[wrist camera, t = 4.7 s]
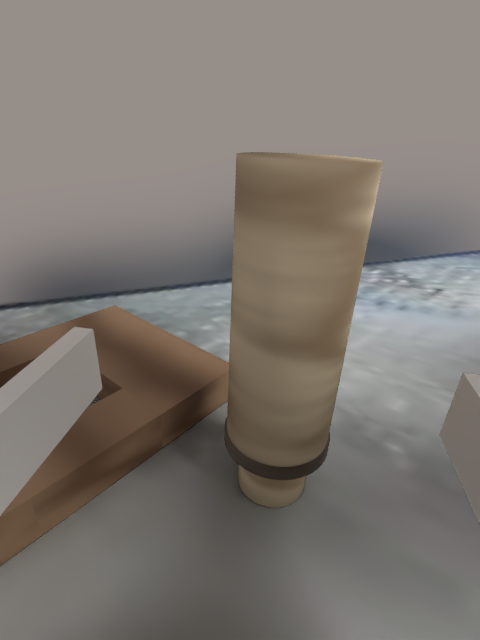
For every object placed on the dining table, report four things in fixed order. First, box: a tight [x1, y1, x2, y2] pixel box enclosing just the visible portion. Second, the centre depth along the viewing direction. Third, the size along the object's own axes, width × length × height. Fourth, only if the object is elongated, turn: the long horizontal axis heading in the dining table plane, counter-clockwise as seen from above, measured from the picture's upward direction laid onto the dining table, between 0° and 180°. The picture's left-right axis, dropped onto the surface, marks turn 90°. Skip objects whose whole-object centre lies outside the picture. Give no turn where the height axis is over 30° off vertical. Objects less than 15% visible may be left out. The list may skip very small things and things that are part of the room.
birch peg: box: [225, 152, 383, 508], centre depth 17 cm, size 5×5×16 cm
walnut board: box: [0, 306, 229, 566], centre depth 23 cm, size 20×14×2 cm
